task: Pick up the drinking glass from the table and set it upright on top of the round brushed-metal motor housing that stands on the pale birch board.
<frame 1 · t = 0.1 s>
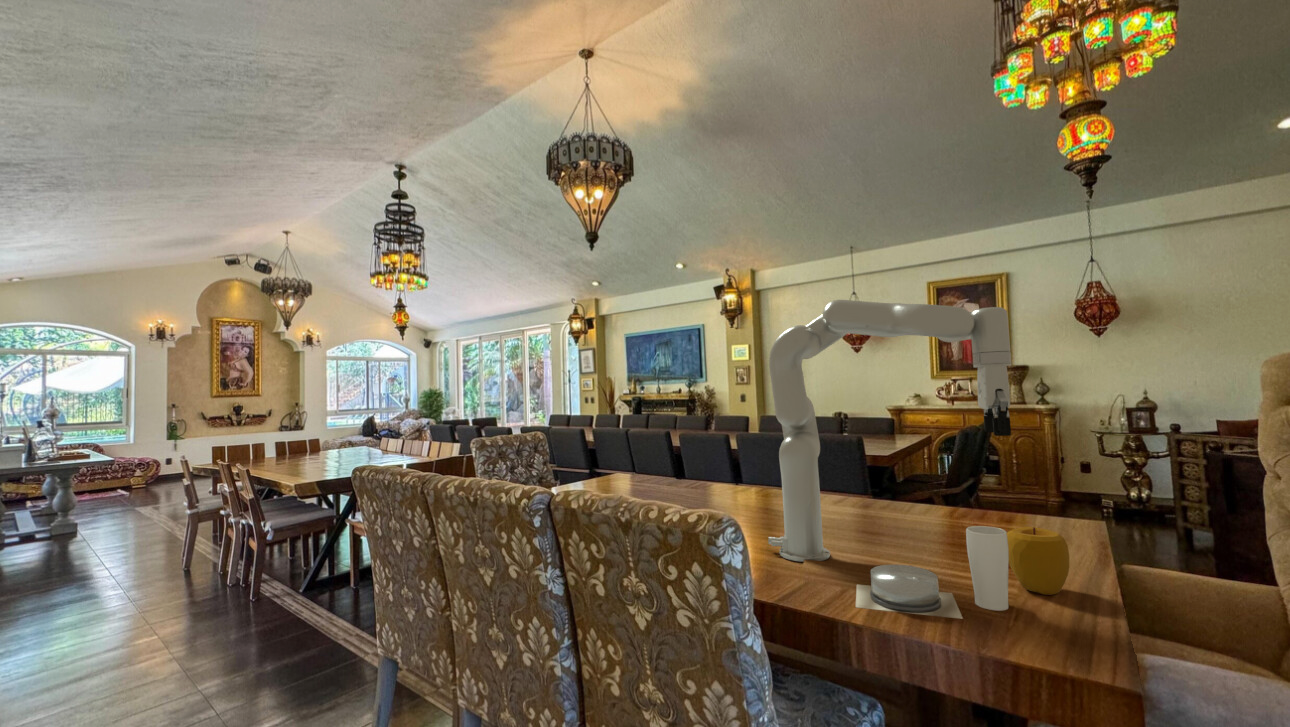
hand: (997, 433, 125), 31 cm above the table, tool pointing down, fingers open, 9 cm apart
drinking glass: (992, 611, 102), on the table
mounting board: (905, 605, 106), on the table
apple: (1039, 591, 111), on the table
motor housing: (905, 599, 106), resting on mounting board
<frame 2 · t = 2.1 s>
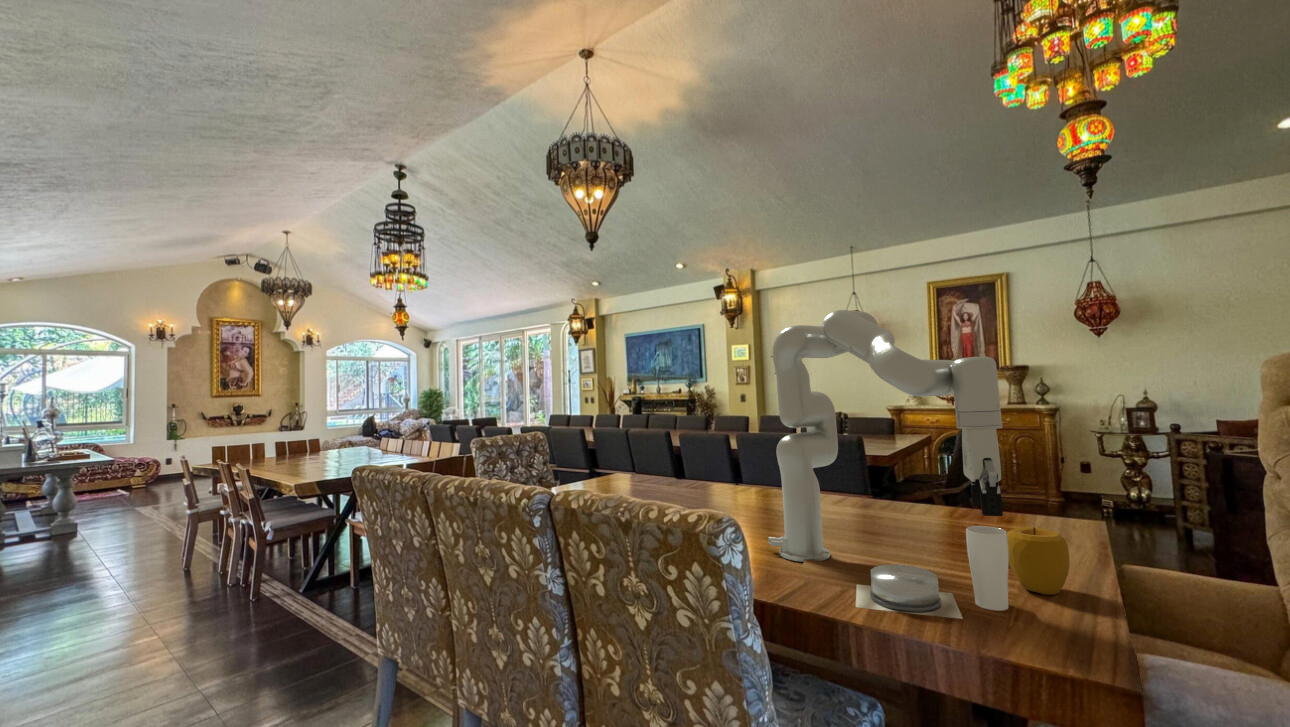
hand: (986, 510, 103), 19 cm above the table, tool pointing down, fingers open, 9 cm apart
nothing on the table moved.
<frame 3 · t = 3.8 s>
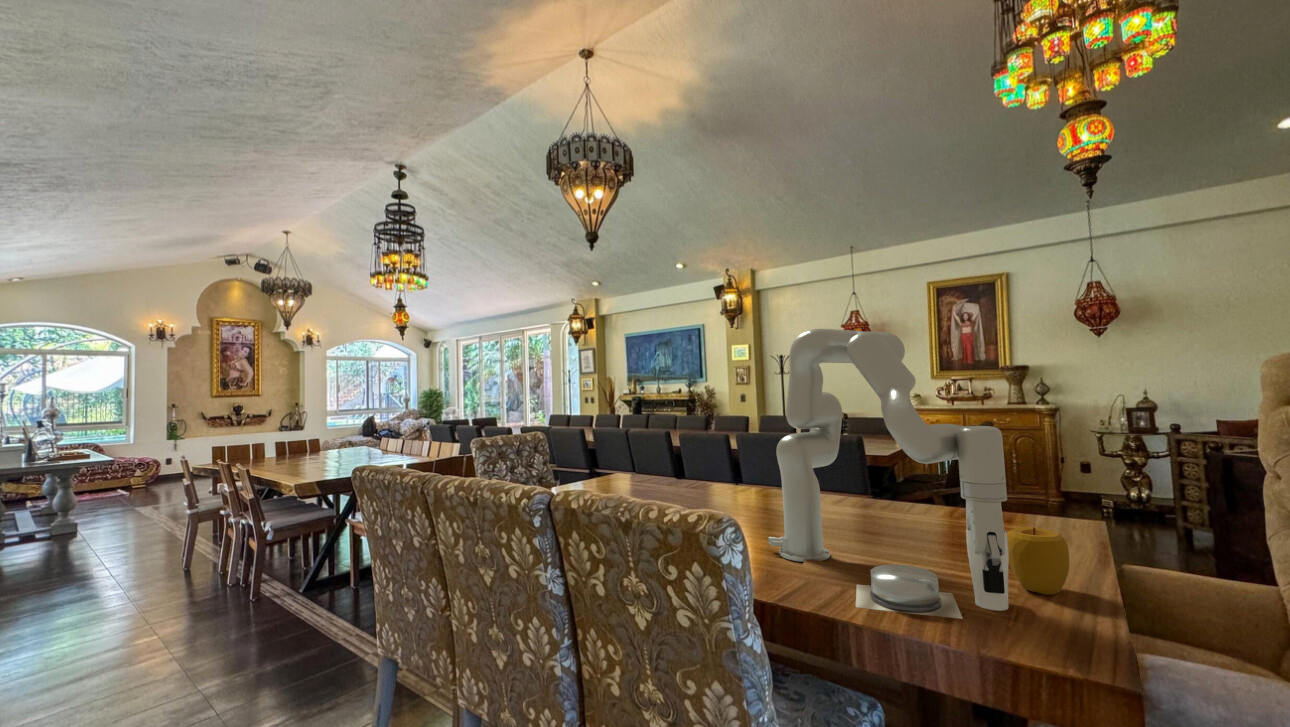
hand: (990, 585, 102), 5 cm above the table, tool pointing down, fingers closed on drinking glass, 6 cm apart
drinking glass: (992, 611, 102), on the table, touching gripper
everything else where it was.
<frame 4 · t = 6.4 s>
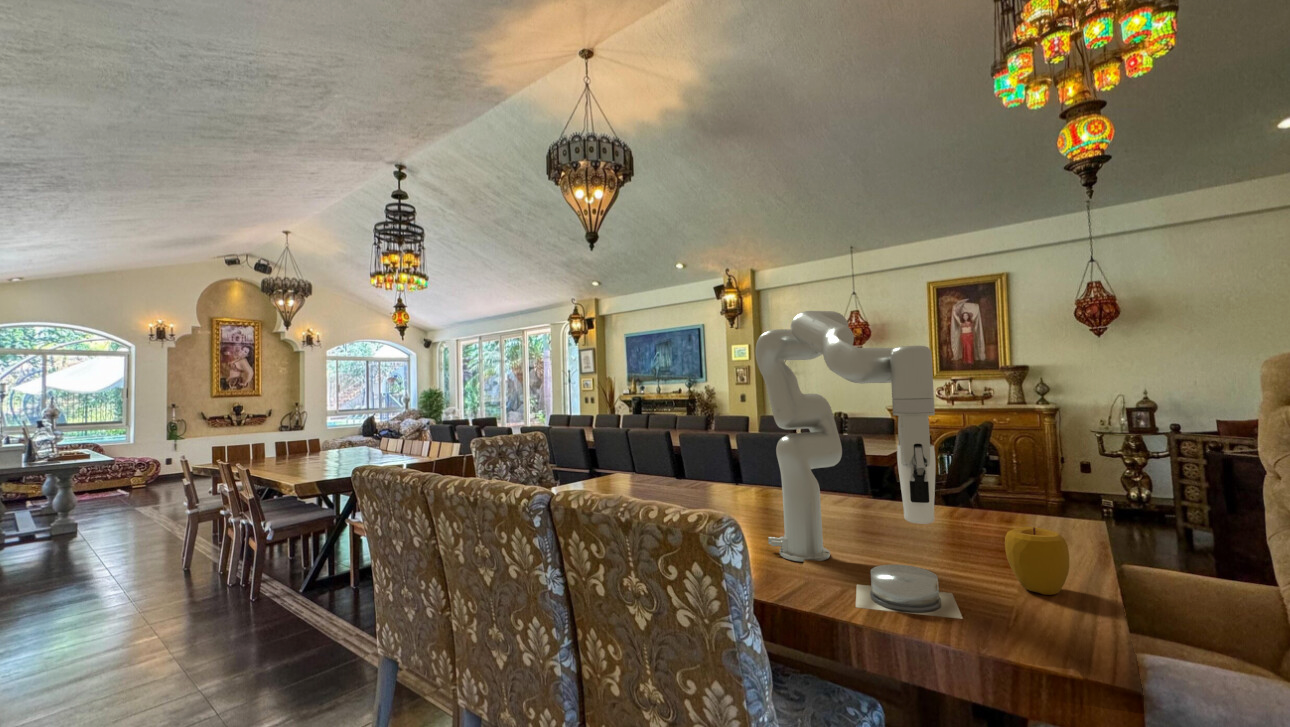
hand: (917, 497, 107), 21 cm above the table, tool pointing down, fingers closed on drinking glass, 6 cm apart
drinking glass: (919, 522, 106), point 16 cm above the table, touching gripper
everything else where it was.
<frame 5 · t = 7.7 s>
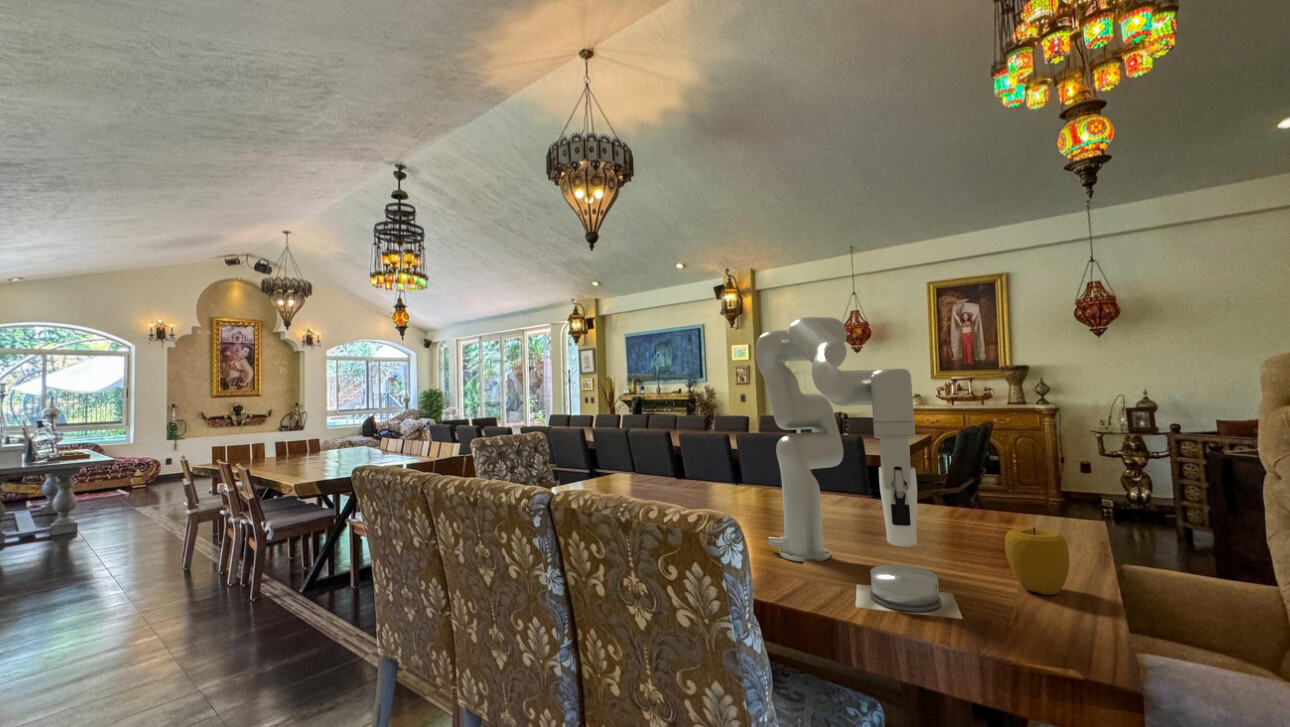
hand: (900, 520, 107), 17 cm above the table, tool pointing down, fingers closed on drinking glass, 6 cm apart
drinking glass: (902, 545, 107), point 12 cm above the table, touching gripper
everything else where it was.
when the fingers open (12 cm above the table, at t = 9.0 s): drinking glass drops 1 cm, resting on motor housing.
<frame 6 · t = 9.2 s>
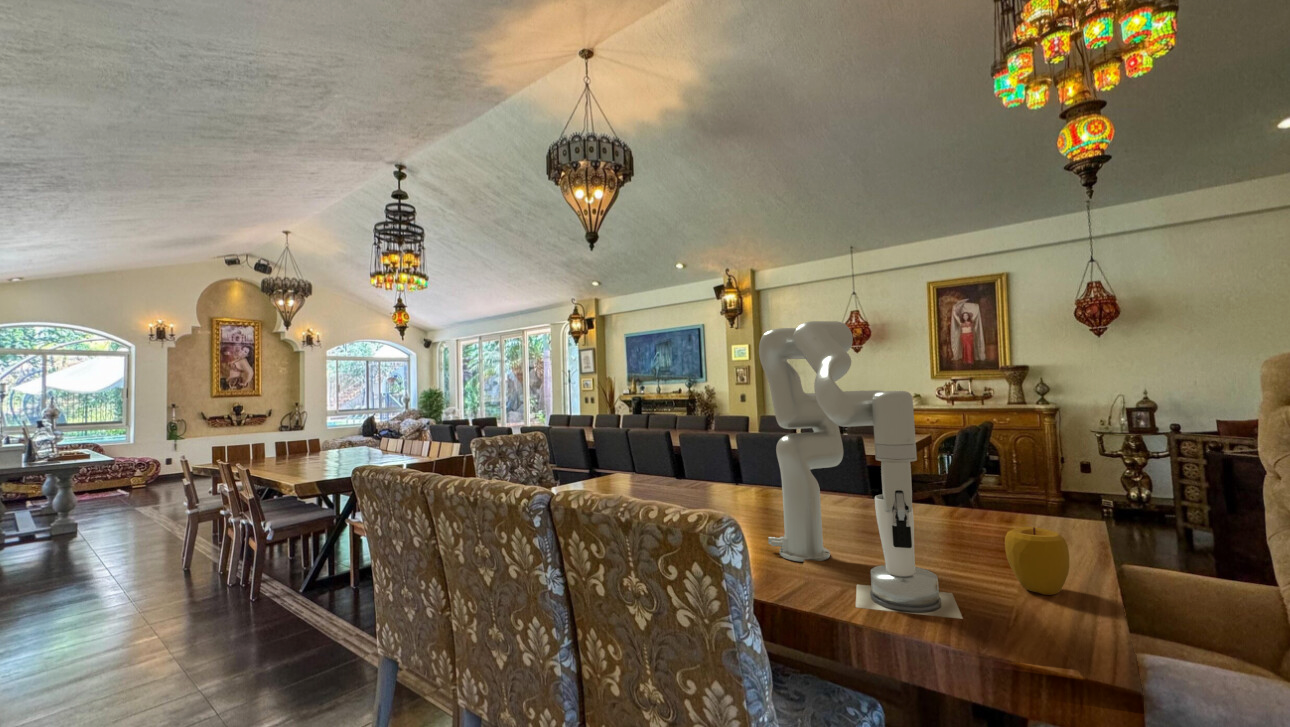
hand: (901, 540, 107), 12 cm above the table, tool pointing down, fingers open, 8 cm apart
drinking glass: (901, 574, 107), point 6 cm above the table, touching motor housing
everything else where it was.
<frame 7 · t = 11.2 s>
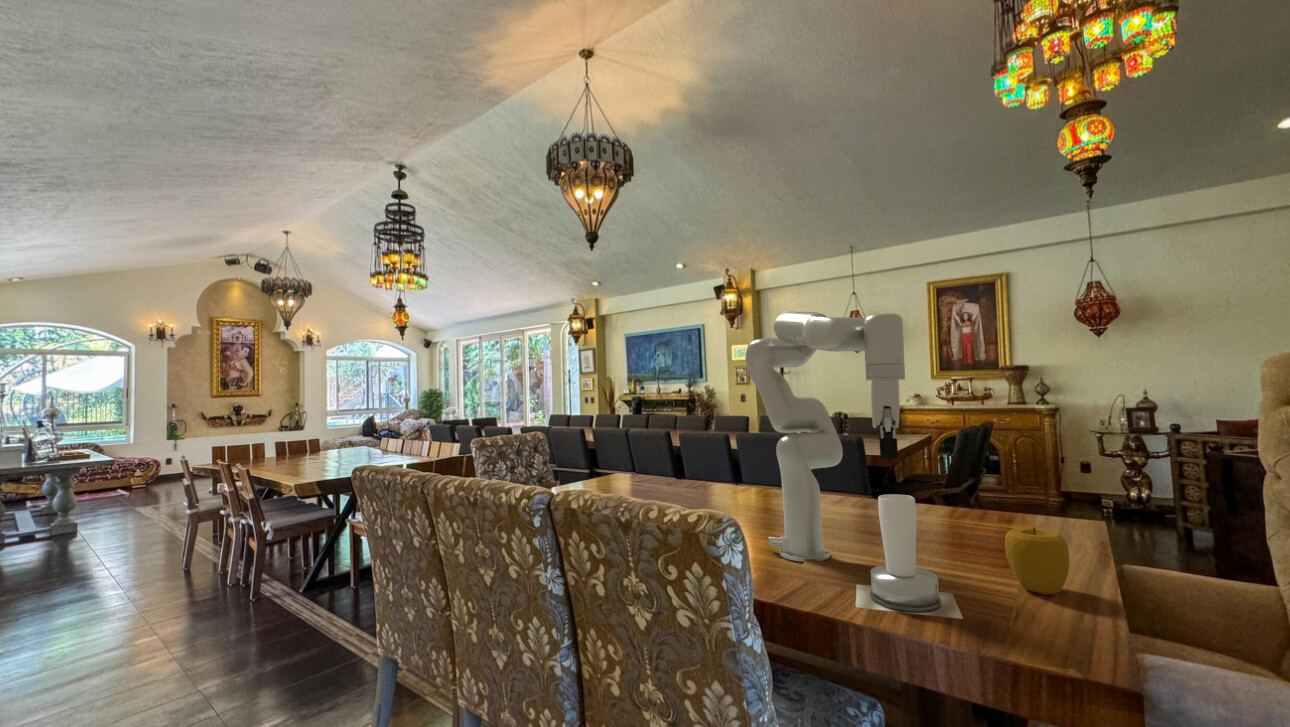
hand: (888, 455, 112), 29 cm above the table, tool pointing down, fingers open, 9 cm apart
nothing on the table moved.
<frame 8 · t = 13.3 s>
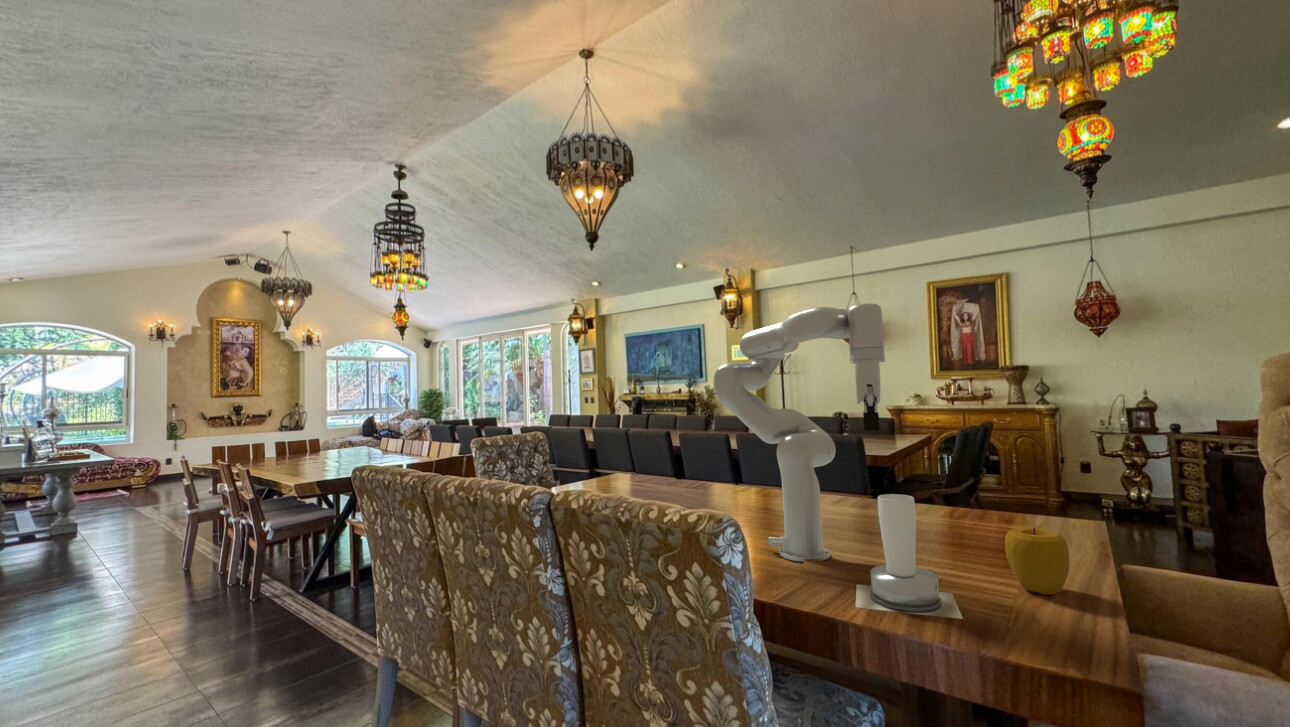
hand: (871, 429, 126), 33 cm above the table, tool pointing down, fingers open, 9 cm apart
nothing on the table moved.
at the end: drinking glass 0.4 cm off-centre on the motor housing, point 4.8 cm above the motor housing's base; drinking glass tilted 1°; the gripper is holding nothing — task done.
